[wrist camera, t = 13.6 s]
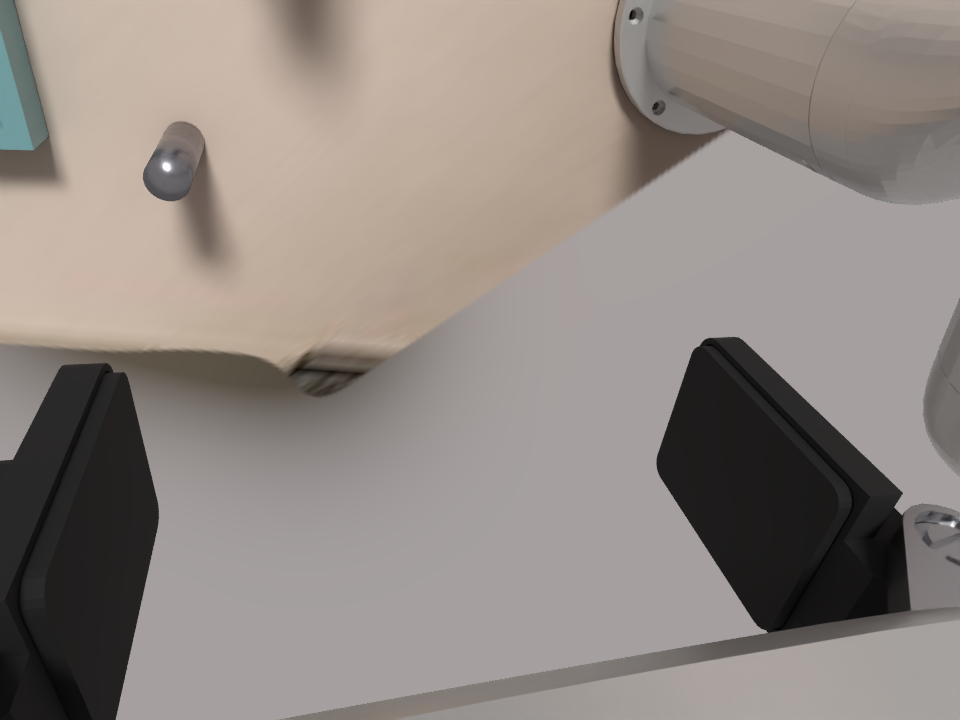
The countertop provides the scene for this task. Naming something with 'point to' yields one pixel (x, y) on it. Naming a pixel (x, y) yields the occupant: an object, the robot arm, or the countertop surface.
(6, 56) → the tray
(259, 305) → the countertop surface
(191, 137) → the grey metallic cylinder
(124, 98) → the countertop surface
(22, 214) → the countertop surface
